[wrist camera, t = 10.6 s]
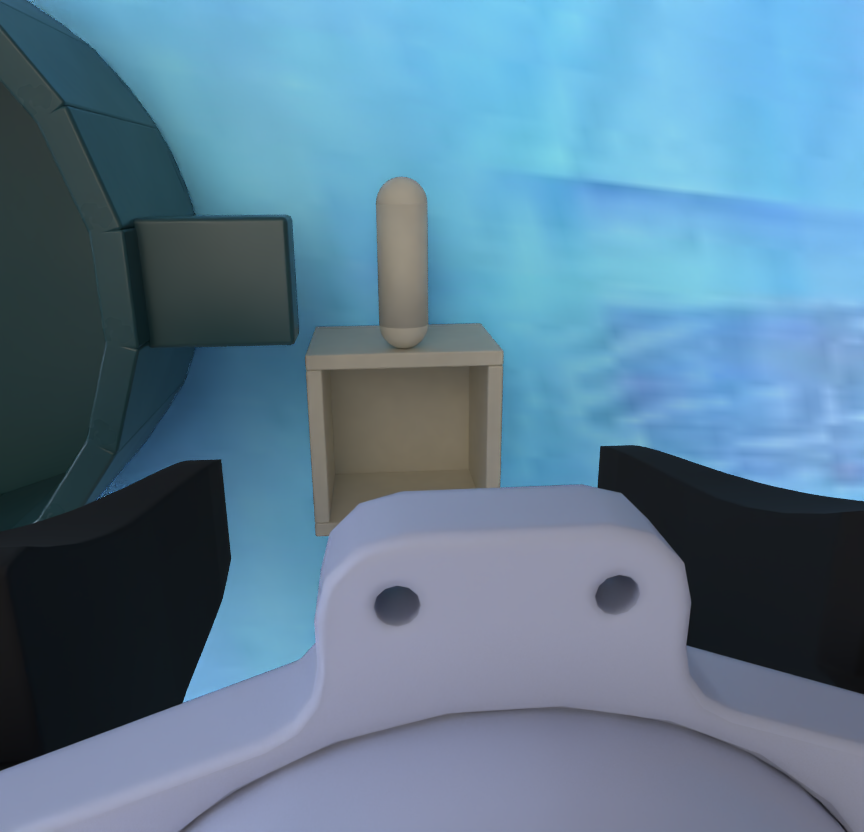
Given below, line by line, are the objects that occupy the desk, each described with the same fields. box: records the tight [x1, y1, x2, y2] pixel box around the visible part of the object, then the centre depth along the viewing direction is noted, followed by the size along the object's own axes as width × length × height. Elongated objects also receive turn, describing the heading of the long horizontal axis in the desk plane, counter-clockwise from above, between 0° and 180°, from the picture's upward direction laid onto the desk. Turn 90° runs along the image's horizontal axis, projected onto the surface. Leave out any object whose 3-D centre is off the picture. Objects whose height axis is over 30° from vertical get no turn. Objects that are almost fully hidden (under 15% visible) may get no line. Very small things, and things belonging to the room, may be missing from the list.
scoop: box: [305, 177, 503, 536], centre depth 18 cm, size 8×4×4 cm, turn 0°
